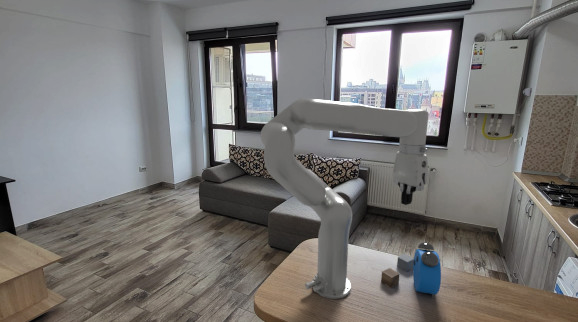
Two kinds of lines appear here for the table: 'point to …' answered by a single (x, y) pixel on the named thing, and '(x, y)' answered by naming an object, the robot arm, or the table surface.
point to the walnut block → (390, 277)
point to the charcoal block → (405, 262)
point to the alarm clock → (426, 269)
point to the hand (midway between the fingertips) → (406, 203)
